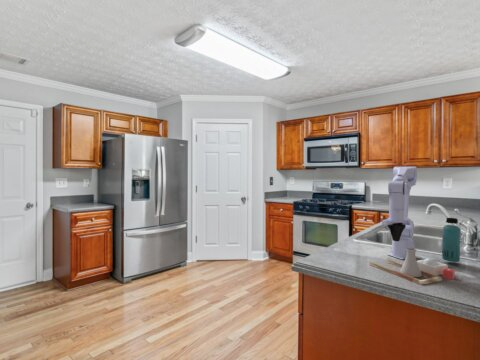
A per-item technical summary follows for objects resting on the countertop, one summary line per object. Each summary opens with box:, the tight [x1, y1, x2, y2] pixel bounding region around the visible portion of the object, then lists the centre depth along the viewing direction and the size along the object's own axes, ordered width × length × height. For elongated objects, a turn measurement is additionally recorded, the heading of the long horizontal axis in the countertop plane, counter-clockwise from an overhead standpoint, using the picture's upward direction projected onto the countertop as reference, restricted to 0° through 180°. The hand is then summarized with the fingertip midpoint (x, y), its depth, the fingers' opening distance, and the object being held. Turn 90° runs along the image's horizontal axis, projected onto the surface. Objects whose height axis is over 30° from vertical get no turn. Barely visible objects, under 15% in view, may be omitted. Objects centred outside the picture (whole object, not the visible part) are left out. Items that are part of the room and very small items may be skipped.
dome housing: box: [416, 259, 449, 276], centre depth 114 cm, size 8×8×4 cm
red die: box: [442, 267, 456, 281], centre depth 108 cm, size 3×3×3 cm
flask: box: [399, 248, 423, 278], centre depth 111 cm, size 7×7×10 cm
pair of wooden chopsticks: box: [369, 258, 443, 285], centre depth 114 cm, size 11×23×1 cm, turn 22°
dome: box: [423, 257, 438, 266], centre depth 114 cm, size 5×5×5 cm
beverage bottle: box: [441, 217, 461, 263], centre depth 125 cm, size 6×7×20 cm
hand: (395, 240), depth 122 cm, fingers closed
